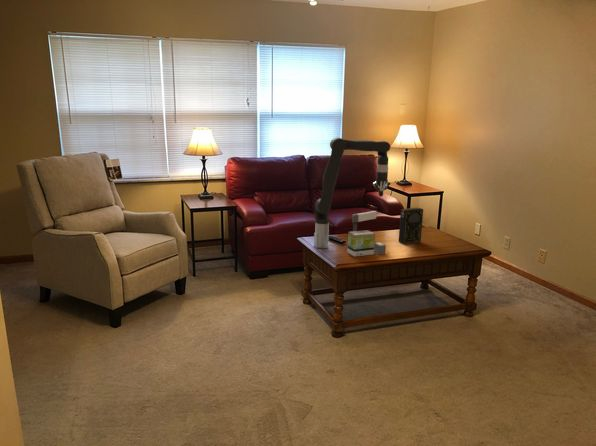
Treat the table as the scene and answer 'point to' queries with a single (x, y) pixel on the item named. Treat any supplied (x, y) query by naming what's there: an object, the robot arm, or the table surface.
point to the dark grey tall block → (410, 225)
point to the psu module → (379, 248)
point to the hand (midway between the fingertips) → (380, 196)
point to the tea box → (361, 243)
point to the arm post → (354, 226)
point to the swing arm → (364, 216)
